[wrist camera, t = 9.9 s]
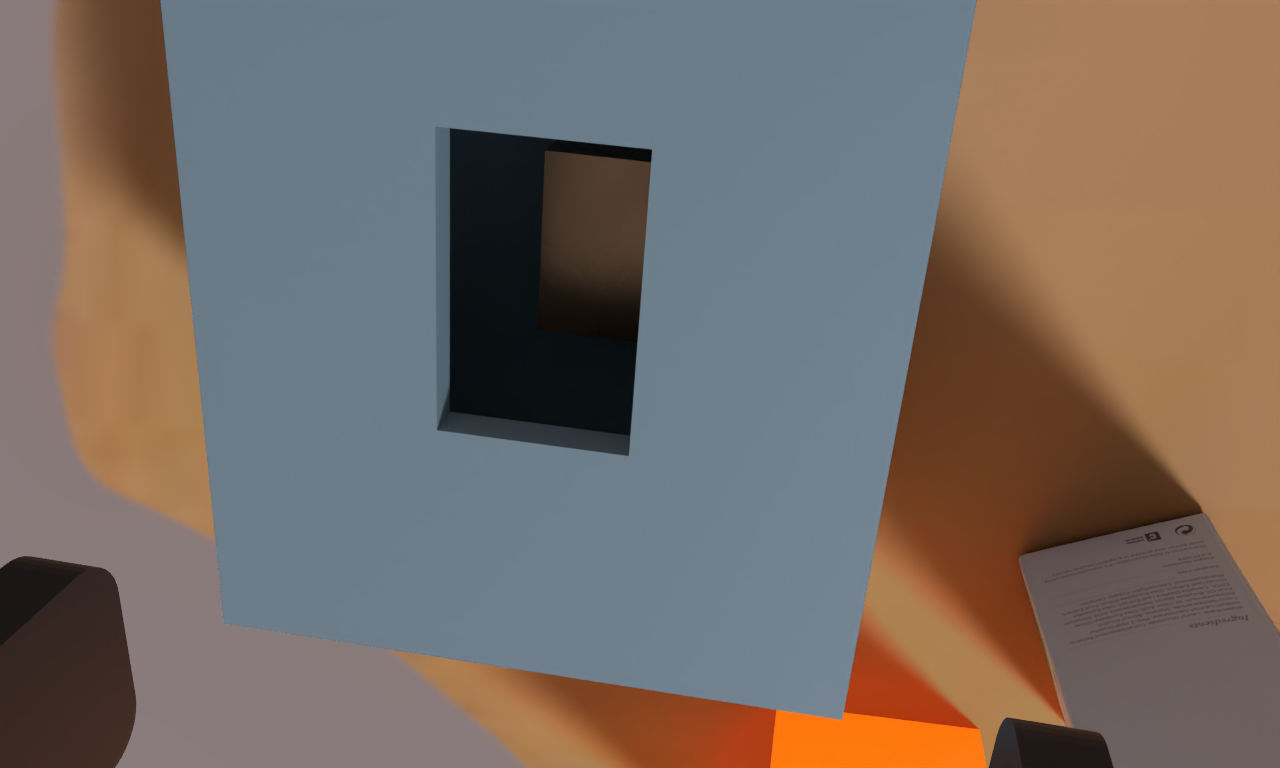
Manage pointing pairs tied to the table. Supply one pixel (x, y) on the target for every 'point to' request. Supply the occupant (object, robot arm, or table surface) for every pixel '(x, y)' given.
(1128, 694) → the skincare box
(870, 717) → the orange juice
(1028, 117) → the table surface
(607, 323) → the brown rectangular block
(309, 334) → the box
